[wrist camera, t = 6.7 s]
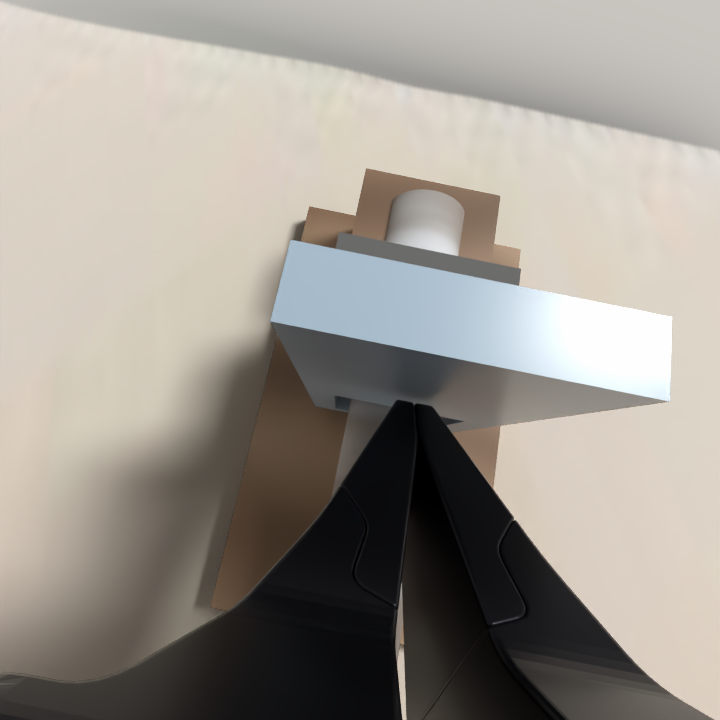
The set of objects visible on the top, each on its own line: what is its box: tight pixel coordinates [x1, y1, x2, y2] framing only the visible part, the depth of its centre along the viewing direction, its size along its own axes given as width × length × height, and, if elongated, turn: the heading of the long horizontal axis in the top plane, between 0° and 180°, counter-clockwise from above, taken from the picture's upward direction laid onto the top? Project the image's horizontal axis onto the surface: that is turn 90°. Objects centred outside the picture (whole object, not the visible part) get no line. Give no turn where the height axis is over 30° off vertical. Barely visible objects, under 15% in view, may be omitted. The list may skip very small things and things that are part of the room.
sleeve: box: [270, 240, 672, 432], centre depth 11 cm, size 3×5×11 cm, turn 79°
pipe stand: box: [210, 169, 520, 660], centre depth 15 cm, size 17×10×6 cm, turn 169°
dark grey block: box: [336, 232, 521, 286], centre depth 14 cm, size 2×5×5 cm, turn 79°
